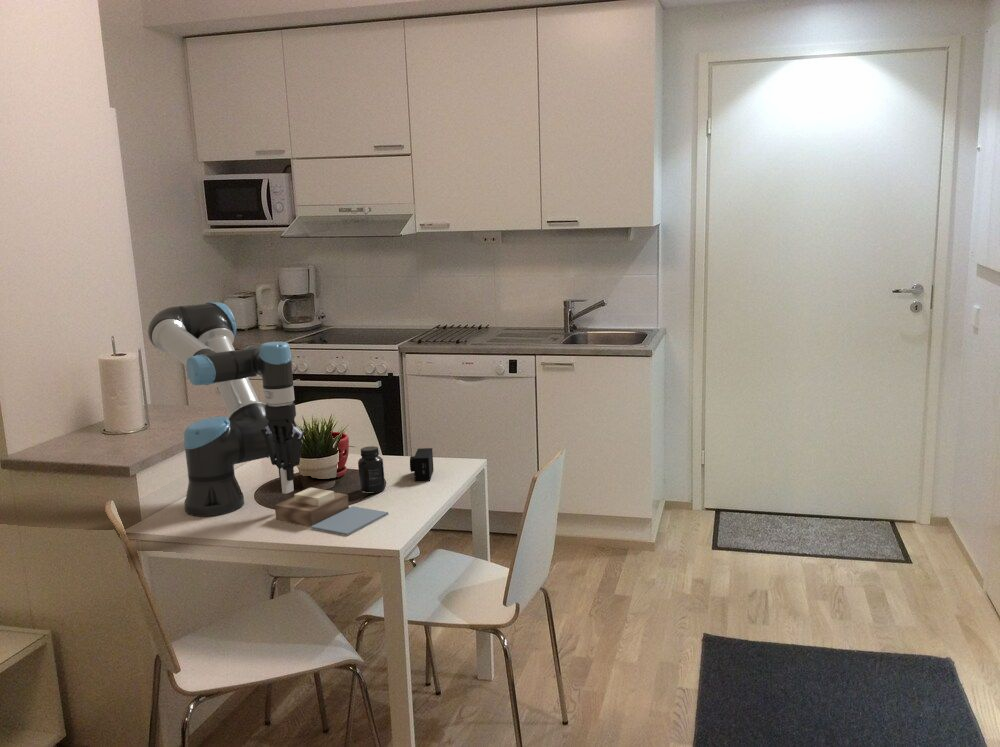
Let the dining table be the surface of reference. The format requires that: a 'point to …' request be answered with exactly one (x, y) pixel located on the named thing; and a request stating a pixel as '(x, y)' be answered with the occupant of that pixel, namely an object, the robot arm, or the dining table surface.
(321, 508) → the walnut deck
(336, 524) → the rubber mat
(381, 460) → the supplement bottle
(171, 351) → the robot arm
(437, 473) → the dining table surface
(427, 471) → the digital camera
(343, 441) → the plant pot
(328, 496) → the birch tile
